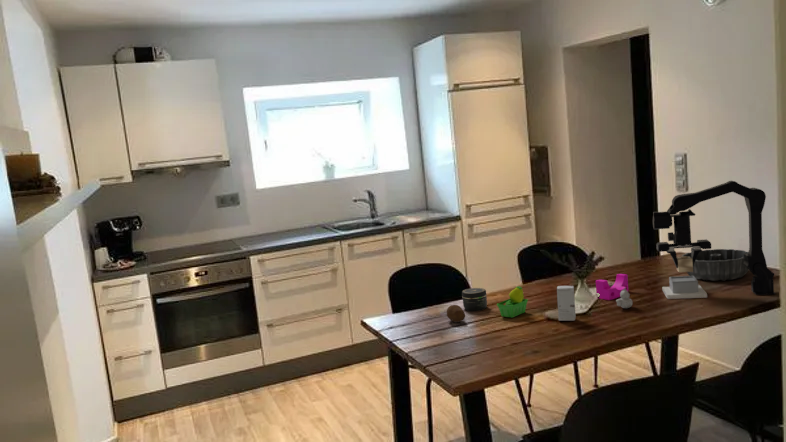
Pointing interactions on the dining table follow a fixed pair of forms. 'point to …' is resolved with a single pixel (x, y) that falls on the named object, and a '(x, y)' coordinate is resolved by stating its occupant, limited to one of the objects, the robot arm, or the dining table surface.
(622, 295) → the rubber duck
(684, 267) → the snap block
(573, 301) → the skincare box
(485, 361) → the dining table surface
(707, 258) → the bundt pan
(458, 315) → the potato
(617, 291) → the toy block
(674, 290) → the grey square base plate
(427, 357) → the dining table surface
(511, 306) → the fruit basket
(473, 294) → the jar
